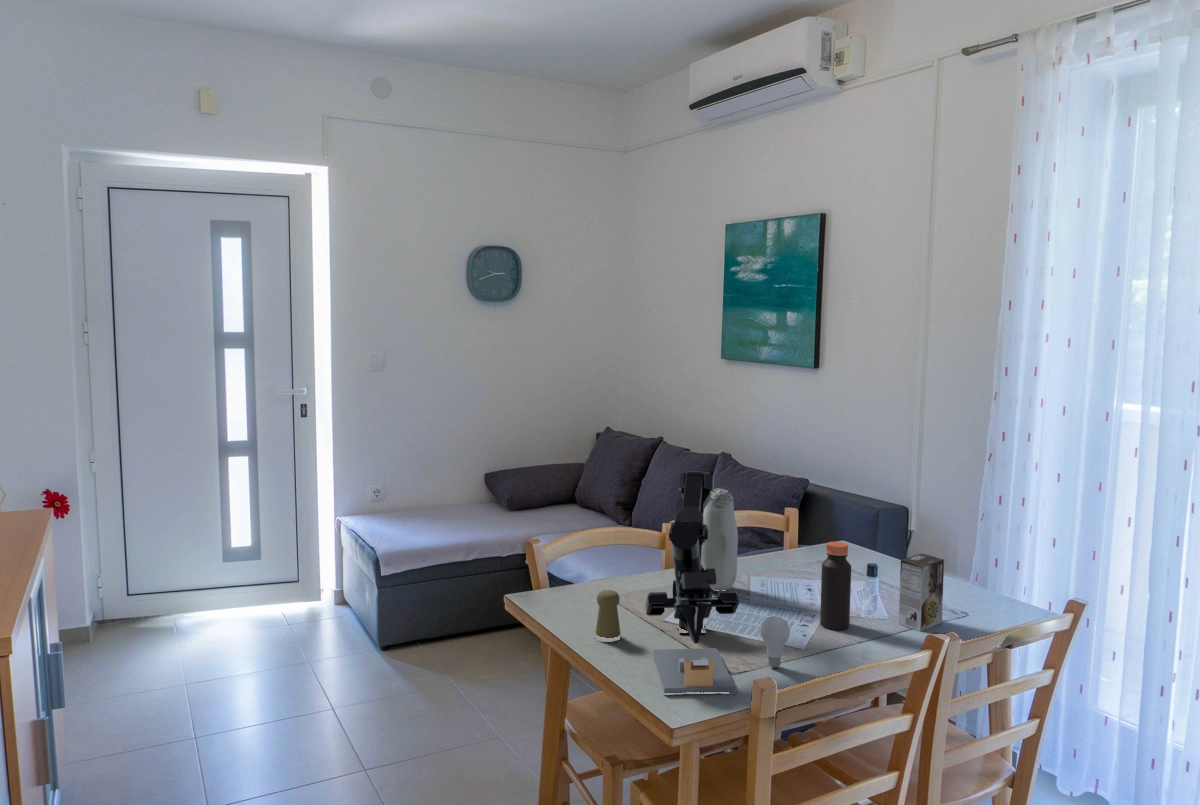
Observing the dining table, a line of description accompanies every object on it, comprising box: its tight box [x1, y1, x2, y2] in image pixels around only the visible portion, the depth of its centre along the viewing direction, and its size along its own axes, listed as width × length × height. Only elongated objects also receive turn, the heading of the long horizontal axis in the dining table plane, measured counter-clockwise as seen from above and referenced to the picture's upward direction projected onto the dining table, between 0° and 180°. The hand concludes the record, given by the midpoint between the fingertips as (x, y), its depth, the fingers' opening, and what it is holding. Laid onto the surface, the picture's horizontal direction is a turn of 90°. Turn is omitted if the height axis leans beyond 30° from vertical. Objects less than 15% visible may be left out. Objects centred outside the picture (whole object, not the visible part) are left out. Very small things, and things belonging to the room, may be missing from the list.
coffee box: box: [898, 553, 945, 632], centre depth 199 cm, size 9×6×16 cm
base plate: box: [652, 647, 736, 694], centre depth 171 cm, size 19×14×6 cm
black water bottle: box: [819, 541, 852, 631], centre depth 198 cm, size 7×7×20 cm
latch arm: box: [690, 660, 709, 666], centre depth 165 cm, size 10×3×1 cm, turn 3°
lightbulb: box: [759, 615, 791, 668], centre depth 174 cm, size 6×6×11 cm
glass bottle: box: [701, 487, 739, 591], centre depth 223 cm, size 10×10×28 cm
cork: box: [595, 589, 621, 638], centre depth 190 cm, size 6×6×11 cm
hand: (696, 642), depth 166 cm, fingers closed
